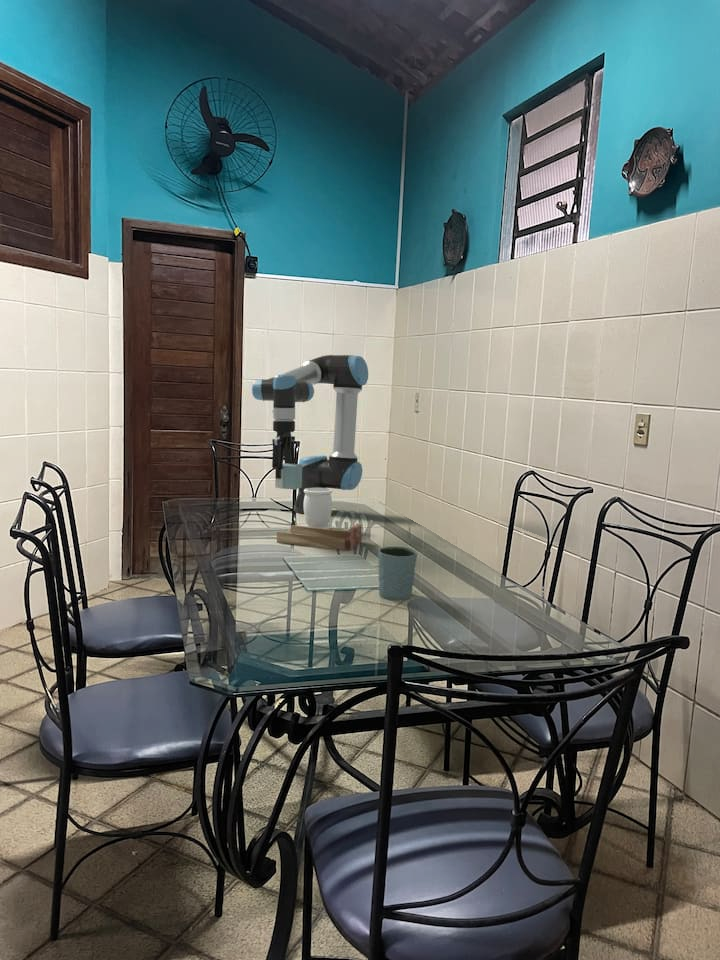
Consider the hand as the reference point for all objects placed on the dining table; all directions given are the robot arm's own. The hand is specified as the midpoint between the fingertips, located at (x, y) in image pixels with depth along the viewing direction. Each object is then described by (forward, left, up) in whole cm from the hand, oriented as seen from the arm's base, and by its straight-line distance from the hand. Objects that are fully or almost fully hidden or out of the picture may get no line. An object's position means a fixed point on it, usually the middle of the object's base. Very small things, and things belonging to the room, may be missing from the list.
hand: (283, 486), depth 241 cm
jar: (-15, +7, -18) cm, 24 cm away
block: (0, +3, 0) cm, 3 cm away
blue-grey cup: (+48, +55, -18) cm, 75 cm away
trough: (+3, +15, -18) cm, 23 cm away
